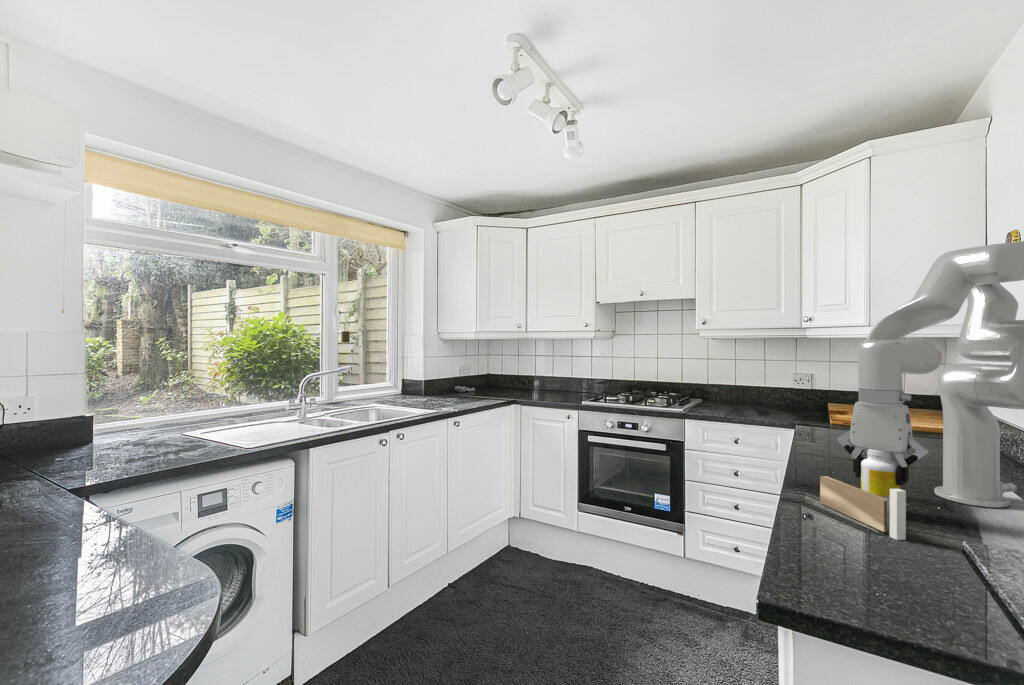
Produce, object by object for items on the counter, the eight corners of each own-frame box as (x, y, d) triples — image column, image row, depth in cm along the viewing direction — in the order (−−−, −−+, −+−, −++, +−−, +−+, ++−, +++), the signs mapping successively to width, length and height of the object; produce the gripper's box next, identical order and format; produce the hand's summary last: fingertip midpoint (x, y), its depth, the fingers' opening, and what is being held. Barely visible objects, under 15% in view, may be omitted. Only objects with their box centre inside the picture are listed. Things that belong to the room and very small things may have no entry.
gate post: (898, 536, 89) (898, 488, 89) (905, 539, 88) (905, 491, 88) (889, 536, 89) (889, 488, 89) (896, 539, 87) (896, 491, 87)
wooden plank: (826, 503, 107) (826, 475, 107) (896, 534, 89) (896, 501, 89) (820, 503, 107) (820, 475, 107) (888, 534, 89) (888, 502, 89)
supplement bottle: (908, 514, 99) (908, 452, 99) (875, 514, 99) (876, 452, 99) (883, 503, 105) (883, 445, 105) (853, 503, 106) (853, 445, 105)
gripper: (938, 400, 97) (937, 487, 97) (841, 393, 111) (841, 468, 111) (926, 403, 93) (926, 494, 93) (827, 395, 107) (827, 474, 107)
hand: (879, 479), depth 102 cm, fingers closed on supplement bottle, 6 cm apart
